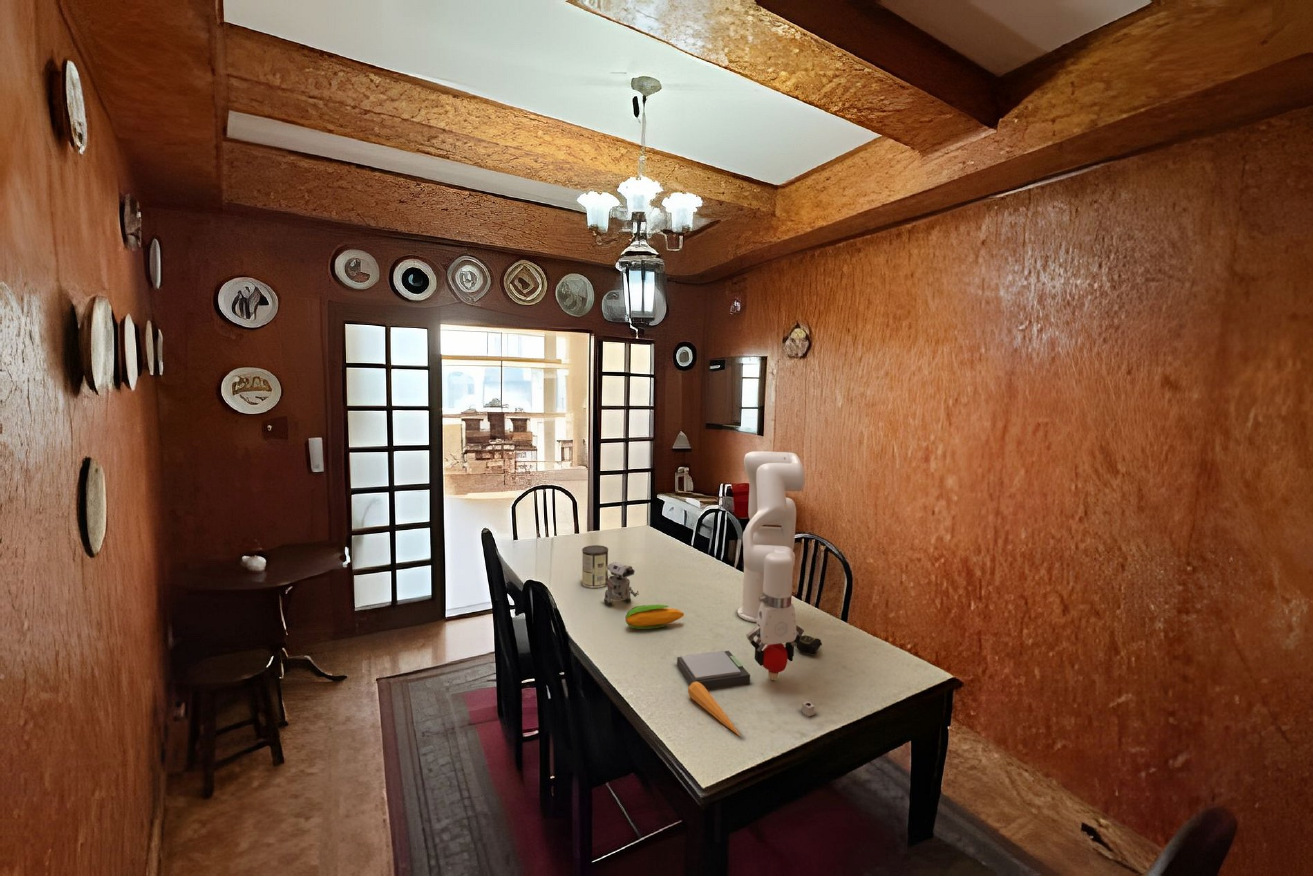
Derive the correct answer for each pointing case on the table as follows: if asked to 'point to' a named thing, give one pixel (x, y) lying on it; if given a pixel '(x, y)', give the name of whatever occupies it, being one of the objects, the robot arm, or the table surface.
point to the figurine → (618, 583)
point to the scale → (713, 669)
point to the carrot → (709, 704)
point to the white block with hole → (808, 709)
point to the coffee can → (594, 566)
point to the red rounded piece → (775, 659)
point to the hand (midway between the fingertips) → (774, 661)
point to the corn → (651, 616)
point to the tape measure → (808, 644)
